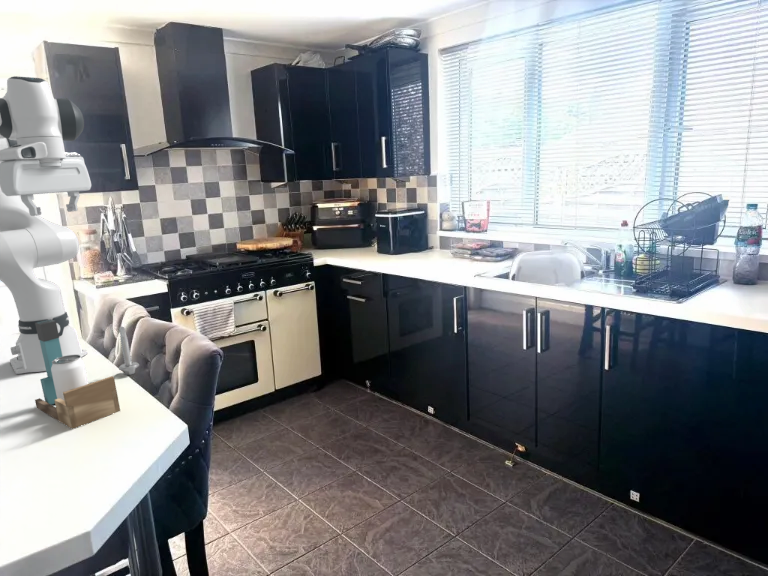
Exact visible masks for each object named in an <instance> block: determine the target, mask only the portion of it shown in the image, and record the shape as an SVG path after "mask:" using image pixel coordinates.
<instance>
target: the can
mask: <svg viewBox="0 0 768 576" xmlns="http://www.w3.org/2000/svg"><path fill="white" fill-rule="evenodd" d="M80 357H81V356H80V355H67V356H63V357H59V358H57V359H55V360H53V361H52V367H51V372H52V377H53V382H54V386H55V391H56V395H57V399H58V398H60V399H62V400H64V395H63V392H66V391H69V390H72V389H75V388H78V387H81V386H84V385H87V384H89V380H88V375H87V370H86V365H85V362H84V360H83V359H82V357H81V358H80ZM64 401H65V400H64Z"/></svg>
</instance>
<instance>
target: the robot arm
mask: <svg viewBox="0 0 768 576" xmlns="http://www.w3.org/2000/svg"><path fill="white" fill-rule="evenodd" d="M6 81H7V82H6V87H7V88H6V89H7V91H6V93H5V94H4V95H3V97H0V281H1V282H2V283H3V284H4V285H5V286H6V287H7V289H8V290H9V291H10V293H11V295H12V297H13V300H14V303H15V307H16V309H17V315H18V318H19V320H18V325H17V327H18V331H19V336H18V338H17V340H16V342H15V346H11V347H10V352H11V355H12V356H15V355H17V356H15V357H12V358H11V359H9V363H10V366H11V368H12V369H13V371H14V373H15V375H21V374H27V373H38V372H46V367H45V363H44V358H43V354H42V349H41V345H40V340H39V339H38V334H37V330H36V325H35V323H37V322H41V321H45V320H50V319H51V320H54V321H56V324H57V329H58V334H59V342H60V346H61V351H62V356H67V355H80V356H81V357H80V358H81V359H82V357H84V356H86V355H88V351H87V350H86V349H82V347H81V343H80V340H79V337H78V332H77V329H76V328H74V327H72V326H70V318H69V316H68V313H67V311H66V310H65V306H64V305H65V304H64V300H63V296H62V290H61V289H60V286H59V285H57V284H56V283H54V282H53V281H51V280H47V279H44V278H38V277H37V276H36V274H35V272H34V269H35V268H36V269H37V268H42V267H47V266H48V267H49V266H54V265H59V264H61V263H64V262H67V261H69V260H73V259H74V258H76V257H77V254H78V252H79V249H80V248H79V247H80V242H79V239H78V236H77V234H76V233H75V232H74V231H73V229H71V228H69V227H68V226H64V225H60V224H57V223H54V222H51V221H49V220H47V219H46V218H43V217H42V216H41V215H42V211H41V207H40V206H38V207H37V206H36V204H35V202H33V201H34V200H35V198H34V195H42V194H43V195H45V194H59V193H67V197H69V200H68V201H69V202H68V203H67V204H65V206H66V211H67V212H69V213H73V212H78V210H79V209H78V203H79V199H80V192H85V191H90V190H91V188H92V181H91V178H90V175H89V171H88V168H87V166H86V164H85V159H84V157H83V156H82V155H81V154H79V152H76V151H72V152H69V151H66V150H65V144H64V142H74V141H75V140H76V139H77V138H78V137H80V135H81V134H82V133H83V131H84V128H85V118H84V115H83V112H82V111H81V109H80V108H79V107H78V106H77V105H76V104H75V103H74V102H73V101H71V100H70V99H69V98H66V97H65V98H64V97H63V98H58V97H57V98H54V94H53V92H52V89H51V86H50V84H49V82H48V81H47V80H45V79H43V78H40V77H29V76H15V75H14V76H11V77H9V78H7V80H6Z"/></svg>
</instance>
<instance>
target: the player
mask: <svg viewBox="0 0 768 576" xmlns="http://www.w3.org/2000/svg"><path fill="white" fill-rule="evenodd" d="M35 325H36V330H37V334H38V339H39V340H40V345H41V349H42V354H43V358H44V363H45V367H46V371H45V373H46V377H43V378H40V384H41V388H42V392H43V393H42V394H43V397H44V401H45V402H47V403H49V404H51V405H54V404H55V399H57V395H56V391H55V386H54V382H53V377H52V372H51V367H52V361H53V360H55V359H57V358H59V357H63V356H62V351H61V346H60V342H59V334H58V329H57V324H56V321H54V320H51V319H50V320H45V321H41V322H37V323H35Z"/></svg>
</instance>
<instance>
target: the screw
mask: <svg viewBox="0 0 768 576" xmlns="http://www.w3.org/2000/svg"><path fill="white" fill-rule="evenodd" d="M118 330H119V335H120V336H119V340H120V345H121V350H122V355H123V361H124V363H122V364H121V365H120V366H119V367H118V370H119V371H123V372H124V375H125V376H130V375H135V374H136V369H137V368H138V367H140V364H139V363H138V362H137V361H133V360H132V355H131V351H130V350H131V349H130V344H129V340H128V339H129V338H128V336H127V334H126V328H125V326H120V327H119V329H118Z"/></svg>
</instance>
